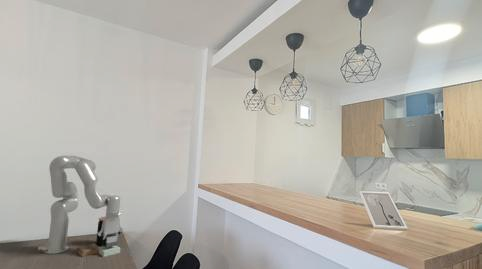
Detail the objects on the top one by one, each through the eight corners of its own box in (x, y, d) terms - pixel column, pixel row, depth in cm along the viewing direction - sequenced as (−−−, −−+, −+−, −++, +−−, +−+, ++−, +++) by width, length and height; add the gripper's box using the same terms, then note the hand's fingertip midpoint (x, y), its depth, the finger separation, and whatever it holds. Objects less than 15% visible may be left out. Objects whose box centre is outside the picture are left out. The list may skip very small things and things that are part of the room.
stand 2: (103, 256, 155) (104, 251, 155) (97, 252, 161) (97, 247, 161) (119, 252, 162) (120, 247, 163) (113, 248, 169) (113, 243, 169)
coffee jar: (110, 241, 183) (113, 215, 184) (115, 245, 175) (118, 218, 177) (93, 243, 175) (96, 217, 177) (98, 248, 168) (101, 220, 169)
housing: (102, 244, 162) (103, 234, 162) (112, 242, 167) (113, 232, 167) (106, 247, 158) (107, 236, 158) (116, 245, 163) (117, 234, 163)
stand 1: (82, 256, 153) (83, 251, 153) (76, 252, 159) (77, 247, 160) (100, 252, 161) (100, 247, 161) (93, 248, 167) (94, 243, 167)
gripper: (122, 212, 173) (120, 239, 171) (95, 216, 160) (92, 245, 158) (128, 214, 168) (125, 242, 166) (100, 218, 155) (97, 248, 153)
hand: (109, 243), depth 162 cm, fingers closed on housing, 6 cm apart
